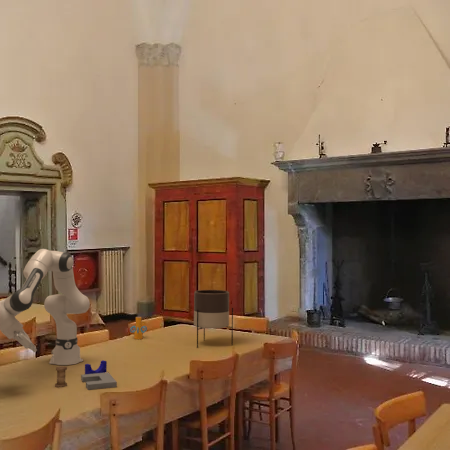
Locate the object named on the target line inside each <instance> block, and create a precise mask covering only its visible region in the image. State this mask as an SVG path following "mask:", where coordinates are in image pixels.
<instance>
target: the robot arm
mask: <svg viewBox="0 0 450 450" xmlns="http://www.w3.org/2000/svg"><path fill="white" fill-rule="evenodd" d="M73 266H74V257H73V256H72V254H70V253H68V252H67V251H65V252H63V251H60V250H59V251H58V250H49V249H47V248H40V249H38V250H37V251H36V252H35V253H34V254H32V256H31V257H30V258H29V260H28V262H27V263H26V264H25V267H24V269H23V271H22V272H23V273H22V274H23V277H24V278H25V281H24V283H23V285H22V287H20V289H19V288H18V290H16V291H15V292H13V293H12V294H10V295H9V296H8V297H6V298H4V299H1V300H0V332H1V333H2V334H3V335H4V336H5V337H7V339H8V340H13V341H14V340H16V341H17V342H18V343H19V344H20V345H21V346H23V348H24V349H26V350H27V349H29V350H31V352H33V353H36V352H37V351H38V349H37V347H36V345H35V344H34V343H33V342H32V340H31V338H30V337H29V334H28V333H26V332H25V329H24V324H22V323H21V322H20V321H19V320H18V319H17V318H16V316H18V315H19V314H21V313H23V312H25V311H27V310H29V309H30V307H32V305H33V302H34V301H33V300H34V295H35V293H36V291H37V289H38V288H39V285H40V283H41V282H42V280H43V279H44V278H45V277H46V275H47V273H48V272H52V276H53V284H54V288H55V290H56V291H57V292H59V293H60V294H58V293H57V294H52V295H51V294H50V295H48V296H47V297H46V298H45V299H44V302H43V306H44V307H43V308H44V309H45V311H46V312H47V313H48V314H49V315H50V316H51V317H52V318H53V320H54V322H55V326H56V338H55V347H54V348H53V349H52V350H51V357H50V360H49V363H48V364H49V365H58V366H68V365H75V364H79V363H81V362H84V359H83V358H82V357H81V347H80V346H79V345H78V341H79V340H78V337H77V335H78V333H77V332H78V330H77V328H78V326H77V323H76V322H75V321H74V320H72V319H71V318H69V316H68V315H72V314H73V315H80V314H85V313H87V312H88V310H89V309H90V305H91V304H90V303H91V302H90V299H89V297H88V296H87V295H85V294H83V293H82V292H81V291H80V290H79V288H78V287H77V285H76V281H75V275H74V268H73Z"/></svg>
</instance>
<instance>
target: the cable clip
mask: <svg viewBox="0 0 450 450" xmlns="http://www.w3.org/2000/svg"><path fill="white" fill-rule="evenodd" d="M107 364H108V363H107V361H106V360H103V359H102V360H100V363H99V366H98V368H97V369H95V370H94V369H92V364H90V363H85V364H84V374H95V373H107V372H108V371H107V368H108V367H107V366H108V365H107Z"/></svg>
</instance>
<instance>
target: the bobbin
mask: <svg viewBox="0 0 450 450" xmlns="http://www.w3.org/2000/svg"><path fill="white" fill-rule="evenodd" d="M67 367H68V366H67V365H58V366H56V367H55V371H56V383H54V385H55V387H56V388H66V387H67V386H68V383H67V382H66V371H67Z"/></svg>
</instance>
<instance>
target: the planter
mask: <svg viewBox="0 0 450 450" xmlns="http://www.w3.org/2000/svg"><path fill="white" fill-rule="evenodd" d="M193 303H194V305H193V325H194V327H196V349H199V330H202V329H203V341H205V339H206V333H205V332H206V331H205V330H206V329H215V330H216V329H223V328H231V346H234V344H233V340H234V339H233V338H234V337H233V335H234V332H233V330H234V329H233V327H234V326H233V325H234V308H233V307H231V326H229V325H230V291H228V290H222V289H198V290H195V291H194V296H193Z"/></svg>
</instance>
